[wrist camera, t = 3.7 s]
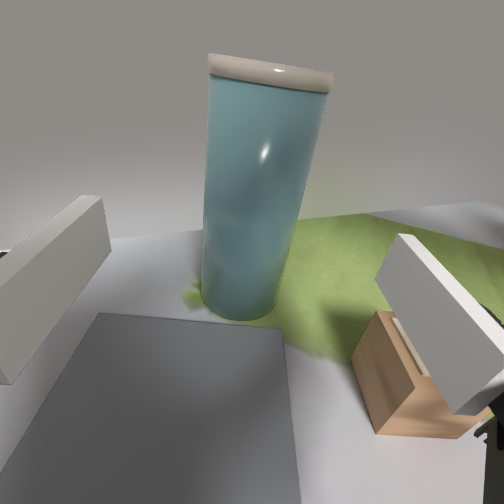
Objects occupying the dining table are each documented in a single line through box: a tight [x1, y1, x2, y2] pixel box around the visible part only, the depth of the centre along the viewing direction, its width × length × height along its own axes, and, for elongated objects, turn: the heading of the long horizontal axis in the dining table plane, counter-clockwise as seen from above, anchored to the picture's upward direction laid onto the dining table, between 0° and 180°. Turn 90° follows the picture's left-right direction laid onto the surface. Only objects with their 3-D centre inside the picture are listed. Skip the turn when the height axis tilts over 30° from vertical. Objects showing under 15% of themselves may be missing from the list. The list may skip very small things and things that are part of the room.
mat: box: [0, 313, 301, 504], centre depth 18 cm, size 16×16×1 cm
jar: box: [201, 53, 335, 321], centre depth 23 cm, size 8×8×20 cm
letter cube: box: [350, 310, 492, 439], centre depth 20 cm, size 6×6×6 cm
